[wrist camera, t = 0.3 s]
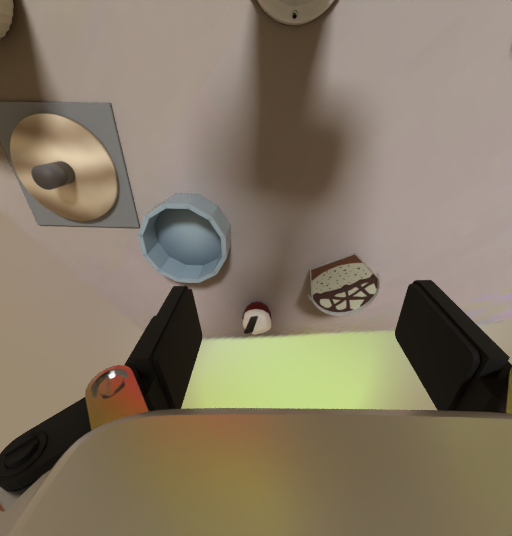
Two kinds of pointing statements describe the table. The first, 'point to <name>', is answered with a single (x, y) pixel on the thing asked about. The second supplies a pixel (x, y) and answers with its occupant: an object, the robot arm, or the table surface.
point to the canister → (5, 16)
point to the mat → (104, 128)
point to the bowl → (185, 238)
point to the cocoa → (256, 318)
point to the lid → (64, 166)
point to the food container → (343, 286)
